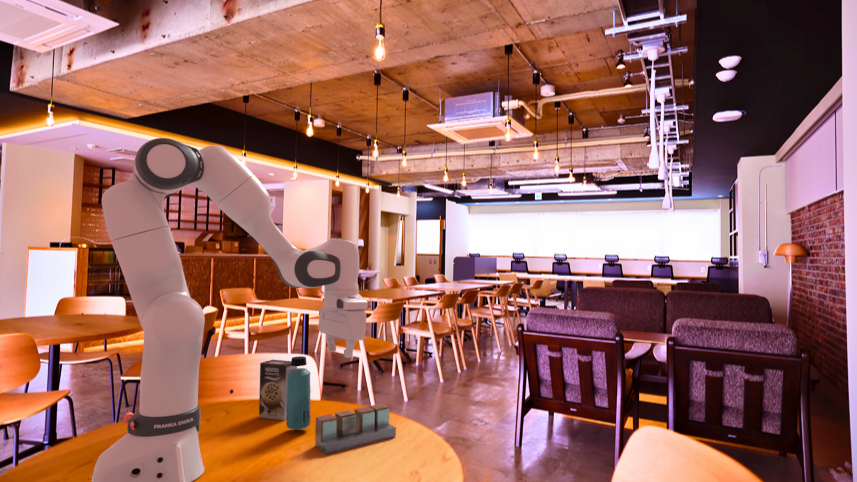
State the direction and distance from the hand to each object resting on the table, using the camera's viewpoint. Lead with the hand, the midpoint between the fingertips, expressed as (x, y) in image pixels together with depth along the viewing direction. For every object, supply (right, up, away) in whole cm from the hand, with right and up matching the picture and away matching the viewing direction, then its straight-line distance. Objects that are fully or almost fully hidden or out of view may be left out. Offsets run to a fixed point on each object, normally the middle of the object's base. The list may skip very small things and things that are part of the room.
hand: (339, 354), depth 123 cm
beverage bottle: (-12, -23, +6) cm, 27 cm away
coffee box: (-22, -23, +19) cm, 37 cm away
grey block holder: (+4, -22, -1) cm, 23 cm away
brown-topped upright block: (+2, -22, -1) cm, 22 cm away
